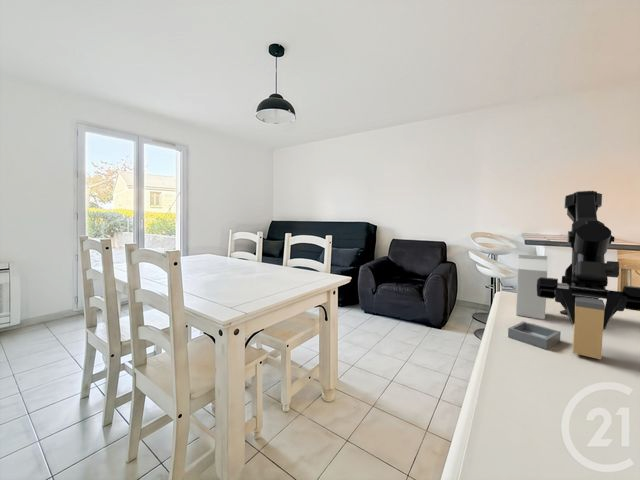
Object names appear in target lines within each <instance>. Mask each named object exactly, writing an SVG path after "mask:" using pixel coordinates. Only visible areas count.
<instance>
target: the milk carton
mask: <svg viewBox="0 0 640 480" xmlns="http://www.w3.org/2000/svg"><path fill="white" fill-rule="evenodd" d="M517 257H518V259H517V275H516V277H517V279H516V280H517V281H516V302H515V304H516V305H515V315H516V316H519V317H526V318H533V319H538V320H539V319H540V320H545V319H546V304H547V301H546V300H547V298H543V297H539V296H537V279H538V278H540V277H545V278H548V256H547V255H536V254H534V255H533V254H518V256H517Z"/></svg>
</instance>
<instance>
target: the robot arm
mask: <svg viewBox="0 0 640 480" xmlns="http://www.w3.org/2000/svg"><path fill="white" fill-rule="evenodd" d="M602 203H603V194H602V193H599V192H597V191H595V190H581V191H579V190H577V191H576V192H573V193H571V194H568V195H565V197H564V209H566V212H567V213H566V215H567V217H568V218H569V219H570V220H571V221H572V224H571V231H569V230H568V231H567V244H568V245H570V248H571V263H570V265H569V266H568V267H566V268H565V270H564V271H565V272H564V275H562V276H561V282H559V279H558V278H556V277H555V278H553V277H547V278H545V277H540V278H538V279H537V296H539V297H543V298H546V299H551V300H553V299H554V302H556V303H559V304H560V305H561V306H562V307H563V309H562V310H560V311H559V313H560V314H564V315H567V316H568V318H569V320H570V322H571V324H573V325H574V324H575V297H576V296H578V297H585V298H593V299H601V300H605V301H606V302H605V309H604V323H603V331H604V330H606V329H607V326H608V324H609V322H610V321H611V319H612V317H614V315H615V314H617V312H624V311H625V310H630V311H638V312H640V286H633V285H623V287H622V291H621V290H620V291H618V290H610V289H606V287H608V285H609V284H608V283H609V281H608V280H609V279H608V278H619V275H620V261H614V260H613V261H611V260H607V261H606V262H605V254H606V253H607V251H608V247H609V245H611V244H612V242H613V243H615V236H613V235H612V230H611V229H610V228H609V227H607V225H605V222H602V221H600V220H598V217H597V212H598V210H599V208H601V207H602V206H603V205H602Z"/></svg>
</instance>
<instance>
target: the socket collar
mask: <svg viewBox="0 0 640 480" xmlns="http://www.w3.org/2000/svg"><path fill="white" fill-rule="evenodd" d="M507 330H508V331H507V338H510V339H513V340H516V341H519V342H522V343H525V344H528V345H530V346H533V347H536V348H540V349H544V350H548V349H550V348H551V347H553V346H554V345H556V344H557V343H559V342H561V330H560V331H558V330H556V329H552V328H548V327H545V326H541V325H537V324H534V323H530V322H526V321H521V322H519V323H516V324H514V325H513V326H511V327H508V328H507Z"/></svg>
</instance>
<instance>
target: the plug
mask: <svg viewBox="0 0 640 480" xmlns="http://www.w3.org/2000/svg"><path fill="white" fill-rule="evenodd" d="M605 305H606V303H605V302H604V299H602V298H599V299H593V298H585V297H578V296H576V297H575V324H573V333H572V353H573V354H575V355H580V356H584V357H589V358H594V359H598V360H602V350H603V336H604V335H603V334H604V329H603V323H604V309H605Z"/></svg>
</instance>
